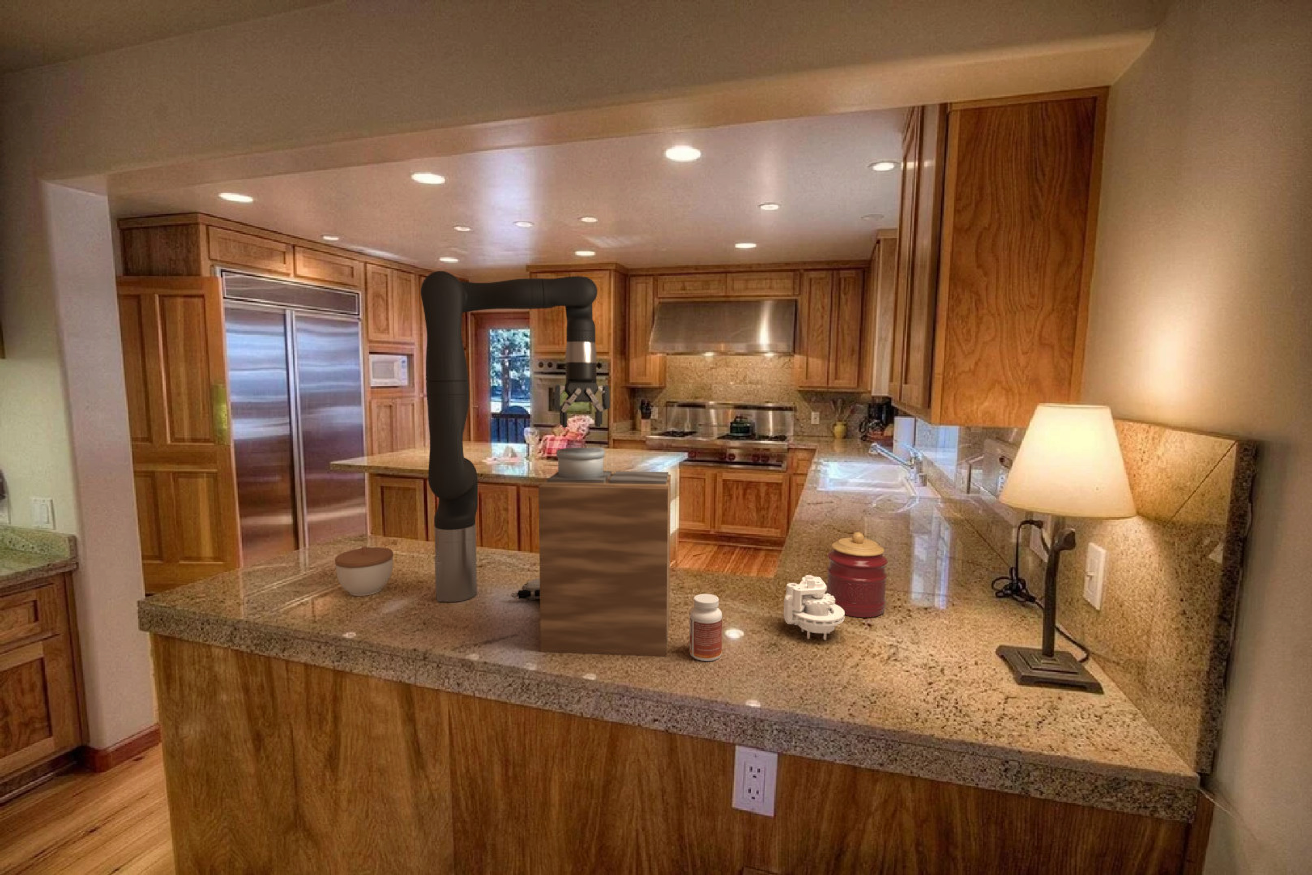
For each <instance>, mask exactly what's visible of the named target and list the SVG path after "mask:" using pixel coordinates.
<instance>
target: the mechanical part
mask: <svg viewBox="0 0 1312 875" xmlns="http://www.w3.org/2000/svg"><path fill="white" fill-rule="evenodd" d="M785 588H786V589H785V590H786V593H785V596H784V600H783V618H784V621H785V622H786V624H787V625H794V626H799V628H800V629H801V630H800V632H802V633H804V632H805V631H806V638H807V639H809V640H810V637H811V633H814V634H823V640H824V641H827V634H828V635H830V633H831V632H833V631H834V630H835V629H836V626H838V625H841V624H842V623H843V622H844V621H845V618H846V617H845V616H846V615H845V612H844V610H843V609H842V608H841V607H840V606H838V605H836V604H834V603H835V598H834V597H833V596H831V595H830V594H828V593H827V583H825V582H824V580H823V579H822V578H821V577H820V576H813V575H810V574H809V575H808V574H807V575H806V574H805V576H802V578H801V581H800V583H796V582H788V583H787V584H786V587H785ZM826 593H827V594H826Z"/></svg>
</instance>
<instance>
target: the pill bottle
mask: <svg viewBox="0 0 1312 875" xmlns="http://www.w3.org/2000/svg"><path fill="white" fill-rule="evenodd" d="M719 602H720V601H719V597H718V596H717V595H714V594H710V593H701V594H697V595H695V596H694V597H693V607H692V608H691V610H690V612H689V635H688V636H689V639H688V640H689V649H688V650H689V654H690V656H691V658H693V659H695V660H698V661H703V662H712V661H716V660H718V659H719V658H721V656H722V654H723V612H722V610H721V609H720V608H719V606H720V603H719Z"/></svg>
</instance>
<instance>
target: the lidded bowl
mask: <svg viewBox="0 0 1312 875" xmlns="http://www.w3.org/2000/svg"><path fill="white" fill-rule="evenodd" d="M393 559H394V552H393V550H392V549H391V548H388V547H379V546H378V547H377V546H375V547H374V546H373V547H372V546H371V547H368V546H367V545H364V546H363V545H362V546H361V548H356V549H355V548H354V549H351V550H348V551H344V552H342V553H339V554H338V555H336V556H335V558H334V563H335V571H336V576H337V580H338V583H339V585H340V586H341V587H342V589H343V590H345V591H346V592H348V593H349V595H350V596H353V597H366V596H371V595H375V594H377V593H380V592H381V591H382V590H383V588H384V587H385V586H386V585H387V583H388V582H389V580H390V579H391V576H392V572H393V565H394V564H393V563H394V560H393Z"/></svg>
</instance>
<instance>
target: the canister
mask: <svg viewBox="0 0 1312 875" xmlns="http://www.w3.org/2000/svg"><path fill="white" fill-rule="evenodd" d="M831 548H832V550H831V551H829V552H828V553H827V559H829V565H828V566H827V583H826V586H827V590H826V592H825V594H827V593H828V594H830V595H831V596H833V597H834V598H835V603H834V604H836V605H838V606H840V607H841V608H842V609H843V610H844V612H845V615H844V616H848V617H853V618H874V617H878V616H881V615H883V614H884V612H885V608H886V603H887V602H886V587H887V586H886V584H887V577H888V576H887V574H888V573H887V572H886V565H888V562H889V561H888V558H886V557H885V556H884V555H883V554H884V553H885V549H884V548H883V547H882V546H881V545H879V544H878V543H877V542H876V541H874V540H871V539H869V538H865V536H864V534H863V533H862V532H859V531H858V532H857V531H856V532H854V533H853V534H852V536H851V537H842V538H840V539H838V540H837V541H835V542H833V543H832V544H831Z"/></svg>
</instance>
